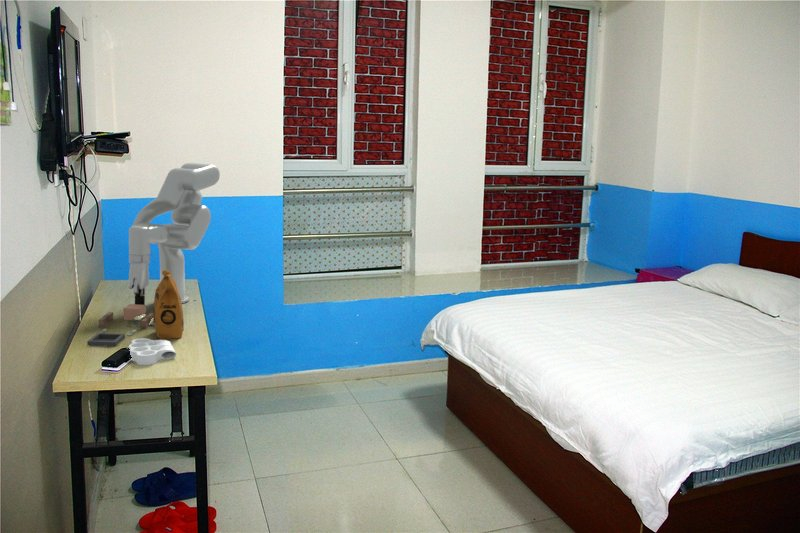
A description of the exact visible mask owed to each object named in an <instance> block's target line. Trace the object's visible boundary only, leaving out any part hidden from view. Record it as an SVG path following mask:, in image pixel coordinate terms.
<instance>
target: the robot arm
mask: <svg viewBox="0 0 800 533" xmlns="http://www.w3.org/2000/svg"><path fill="white" fill-rule="evenodd" d="M220 176H221V173H220V170H219V168H218V166H216V165H214V164H211V163H210V164H208V163H197V162H195V163H194V162H190V163H184V164H183V165H181V167H179V168H178V167H177V168H172V169H170V171H169V172H168V174H167V175H166V177H165V180H164V182H163V184H162V186H161V188H160V190H159V193H158V195H157V197H155V199H153V200H151V201H150V202H149V203H147V204H146V205H145V206H144V207H142V208H141V209H140V211H139V212H138V213H137V214H136V216H135V219H134V221H133V223H132V226H130V227H129V229H128V263H129V269H128V270H129V271H128V289H129V290H132V289H133V294H134V304H137V305H146V304H145V302H146V300H145V299H146V297H145V295H146V287H148V285H149V283H150V270H149V268H150V267H149V264H150V263H151V244H154V245H155V244H156V245H158V246H157V247H158V251H159V278H160V279H159V280H160V281H159V283H160V282H161V281H162V279H163V278H164V275H163V274H162V272H163V271H164V270H168V271H169V272H170V273H171V277H172V278H173V280H174V281H175V283H176V285H177V289H178V292H179V296H180V299H181V304H184V303H187V302H189V300H190V296H188V295H186V282H185V281H186V280H185V278H186V277H185V276H186V271H185V264H186V262H185V256H184V252H183V251H182V250H187V251H189V250H190V251H191V250H196V248H198V247H199V245H200V243H201V241H202V239H203V238H204V236H205V234H206V232H207V229H208V227H209V226H210V223H211V220H212V219H211V217H212V214H211V211H210V208H208V206H206V205H202V204H201V203H202V201H203V194H202V192H201V190H204V189H207V188H211V187H212V186H215V185H216V184H217V183H218V182H219V180H220ZM169 212H171V215H170V220H171V222H172V223H164V224H159V223H151V222H152V221H153V220H154V219H155V218H157V217H159V216H161V215H163V214H166V213H169Z"/></svg>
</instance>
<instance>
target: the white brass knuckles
mask: <svg viewBox="0 0 800 533" xmlns="http://www.w3.org/2000/svg"><path fill="white" fill-rule="evenodd" d="M127 347H128V348H129V349H130V350H129V351H130V355H131V357H132V360H131V361H133V362H135V363H136V365H139V366H150V365H154V364H156V363H158V361H163V360H171V359H172V360H173V359H174V358H175V357H177V352H176V350H175V349H174V346H173V345H172V342H171V341H169V340H168V339H151V338H146V337H144V338H143V337H141V338H140V337H139V338H135V339H133V340H131V341H130V344H129V345H128V346H127ZM128 348H127V349H128Z"/></svg>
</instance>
